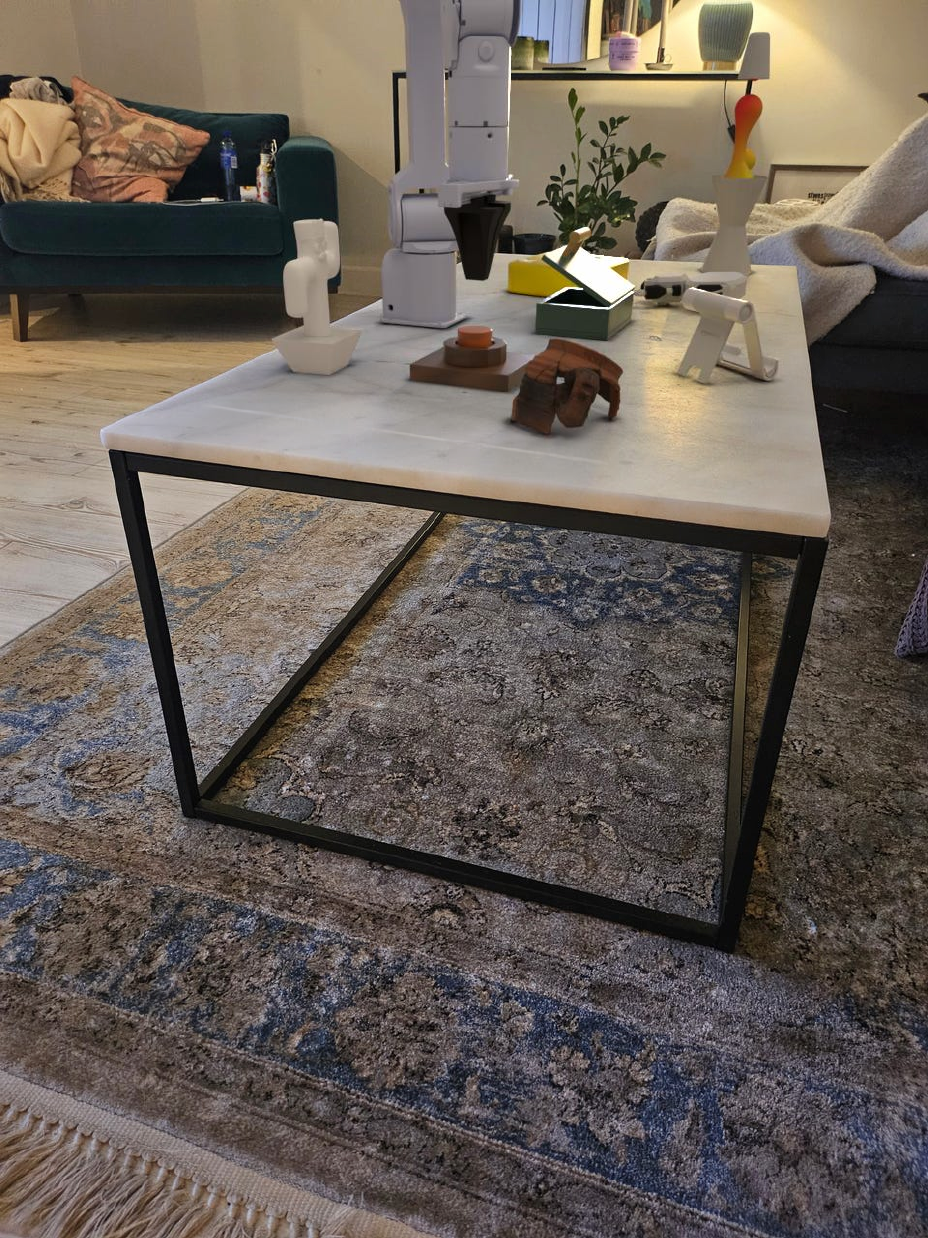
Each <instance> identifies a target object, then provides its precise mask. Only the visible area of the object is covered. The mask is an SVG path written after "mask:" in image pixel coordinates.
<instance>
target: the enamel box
mask: <svg viewBox="0 0 928 1238" xmlns="http://www.w3.org/2000/svg"><path fill="white" fill-rule="evenodd" d="M634 296H635V295H634V291H632V292H631V293H629V294H628V295H627V296H625V297H624V298H622V299H621V300H619V301H618V302H617V303H615V304H614V305H612V306H611V307H609V308H608V307H606V306H605V305H603V304H602V303H601V302H599V301H598V300H596V299H595V298H594V297H592V296H591V295H590V294H588V293H587V292H585V291H584V290H583V289H581V288H569V287H566V288H564V289H562V290H560V291H558V292H556V293H555V294H553V295H551V296H549V297H546V298H544V299H542V300H540V301H538V302H536V306H535V307H536V308H535V330H534V333H535V335H544V336H545V335H546V336H556V337H565V338H566V337H569V338H575V339H577V338H578V339H587V340H596V341H597V340H598V341H608V340H609V339H611V338H612V337H613V336H615V335H616V334H617V333H618V332H620V331H621V330H622V329H623V328H624V327H626V326H627V325H628V324H630V323H631V322H632V316H633V307H634V305H633V304H634Z"/></svg>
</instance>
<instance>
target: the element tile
mask: <svg viewBox="0 0 928 1238" xmlns="http://www.w3.org/2000/svg"><path fill="white" fill-rule="evenodd" d="M549 252H550V251H547V252H543V253H539V254H535V255H532V256H527V257H523V258H519V259H515V260H511V261H509V262H508V268H507V269H508V270H507V291H508V292H510V293H512V294H518V295H519V294H520V295H527V296H536V297H546V298H547V297H549V296H551V295H553V294H555V293H556V292H558V291H560V290H562V289H564V288H566V287H569V288H580V287H578V286H577V285H576V284H574V283H573V282H572V281H570V280H569V279H567V278H566V277H565V276H563V275H562V274H560V273H559V272H558V271H556V270H555V269H554V268H552V267H551V266H549V265H548V264H547V263H545V262H544V261H543V260H541V259H542V257H543V255H544V254H547V253H549ZM591 255H592V256H593V257H595V258H596V259H598V260H599V261H600V262H602V263H603V264H605V265H606V266H607V267H609V268H610V269H611V270H613V271H614V272H616V273H617V274H618V275H620V276H621V277H623V278H624V279H625V280H627V281H629V280H628V279H629V268H630V260H629V259H628V258H625V257H616V256H615V257H614V256H604V255H596V254H591Z"/></svg>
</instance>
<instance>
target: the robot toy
mask: <svg viewBox="0 0 928 1238" xmlns="http://www.w3.org/2000/svg"><path fill="white" fill-rule="evenodd" d="M749 275H751V274H750V273H745V274H742V273H739V272H706V273H704V272H700V273H697V274H694V275H691V276H688V275H687V273H685V272H663V273H658V274H655V275H654V276H653V277H648V278H646V279H644V280H643V282H642V283H641V284H640V287H639V289H634V290H633V292H634V296H635V297H640V298H641V297H643V298H644V299H645V300H646V301H649V300H652V301H653V302H654V303H656V304H657V305H658V306H668V303H680V302H682V297H683V294H684V292H685V291H686V290H687V289H689V288H695V289H699V290H703V291H707V292H711V293H715V294H719V295H723V296H727V297H731V298H735V299H740V300H742V299H743V297H745V296H746V294H747V283H748V282H747V281H748V279H747V277H748V276H749Z"/></svg>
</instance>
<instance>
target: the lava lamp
mask: <svg viewBox="0 0 928 1238" xmlns="http://www.w3.org/2000/svg"><path fill="white" fill-rule="evenodd" d="M770 71H771V34H770V32H767V31H756V32H751V33H750V34H749V36H748V40H747V43H746V47H745V50H744V53H743V58H742V62H741V65H740V69H739V72H738V77H737V80H741V81H742V80H745V81H748V80H750V81H752V82H757V81H758V80H762V81H763V80H770V78H771V77H770V76H771V74H770V73H771V72H770ZM763 107H764V106H763V102H762V100H761V97H759V96H758V95H756V94H754V93H747V94H745V95H743V96H741V97H740V98H739V99H738V100H737V102H736V104H735V106H734V133H735V136H734V145H733V146H734V147H733V153H732V156H731V161H730V164H729V166H728V168H727V170H726V172H725V174H713V175H711V182H712V187H713V193H714V199H715V205H716V211H717V216H718V222H719V225H718V228H717V230H716V232H715V234H714V237H713V240H712V242H711V245H710V247H709V249H708V252H707V254H706V257H705V259H704V261H703V263H702V266H701V268H700V271H701V272H700V273H706V272H739V273H742V274H745V273H750V274H749V275H751V274H752V273H753V272H752V266H751V265H752V264H751V258H750V249H749V243H748V235H747V227H746V226H747V223H748V220H749V218H750V216H751V214H752V212H753V210H754V208H755V206H756V204H757V201H758V200H759V198H760V195H761V194H762V191H763V189H764V187H765V185H766V183H767V180H768V176H764V175H757V174H756V175H755V174H753V173H752V172H751V170H752V169H754V167H755V165H756V159H757V158H756V153H754V151H753V150H752V149H748V148H747V147H748V141H749V137H750V135H751V133H752V130H753V129H754V127H755V125H756V123H757V122H758V120H759V118H760V117H761V115H762V113H763Z"/></svg>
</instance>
